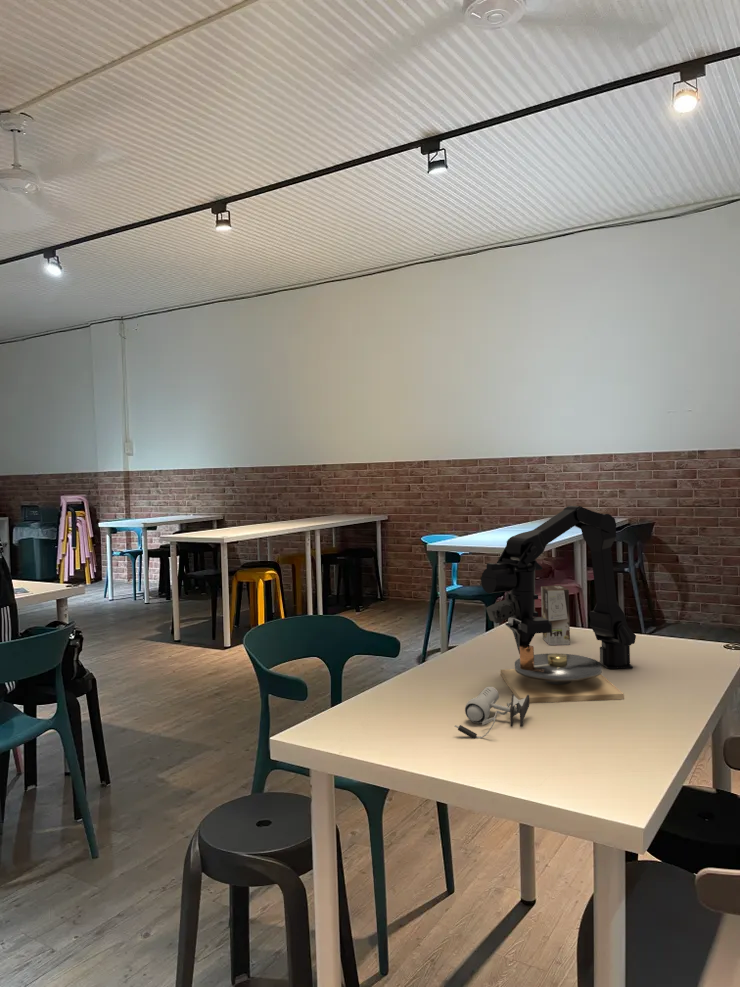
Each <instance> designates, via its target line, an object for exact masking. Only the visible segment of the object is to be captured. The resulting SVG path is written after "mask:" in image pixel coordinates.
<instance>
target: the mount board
mask: <svg viewBox="0 0 740 987" xmlns="http://www.w3.org/2000/svg"><path fill="white" fill-rule="evenodd" d="M499 672H500V676H501V677H502V679H503V680H504V682H505V683H506V685H507V686H508V688H509V689H510V691H512V694H514V696H515V697H516V698H517V699H518V700H521V699H524V698H526V696H527V695H529V704H537V703H542V704H543V703H557V702H558V703H562V702H565V703H566V702H567V703H568V702H585V701H587V702H588V701H611V700H614V701H615V700H624V699H625V694H624V693H623V692H622V691H621V690H620V689H619V688H618V687H617V686H616V685H614V684H613V683H612V682H611V681H609V680H608V679H607V678H606V677H605V676H604V675H602V673H601V674H600V675H599V676H597V677H594V678H591V679H587V680H581V681H566V682H561V681H545V680H538V679H533V678H529V677H526V676H523V675H521V674H519V673H517V672H516V671H515V668H512V669H511V668H509V669H508V668H505V669H500V670H499Z"/></svg>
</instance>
